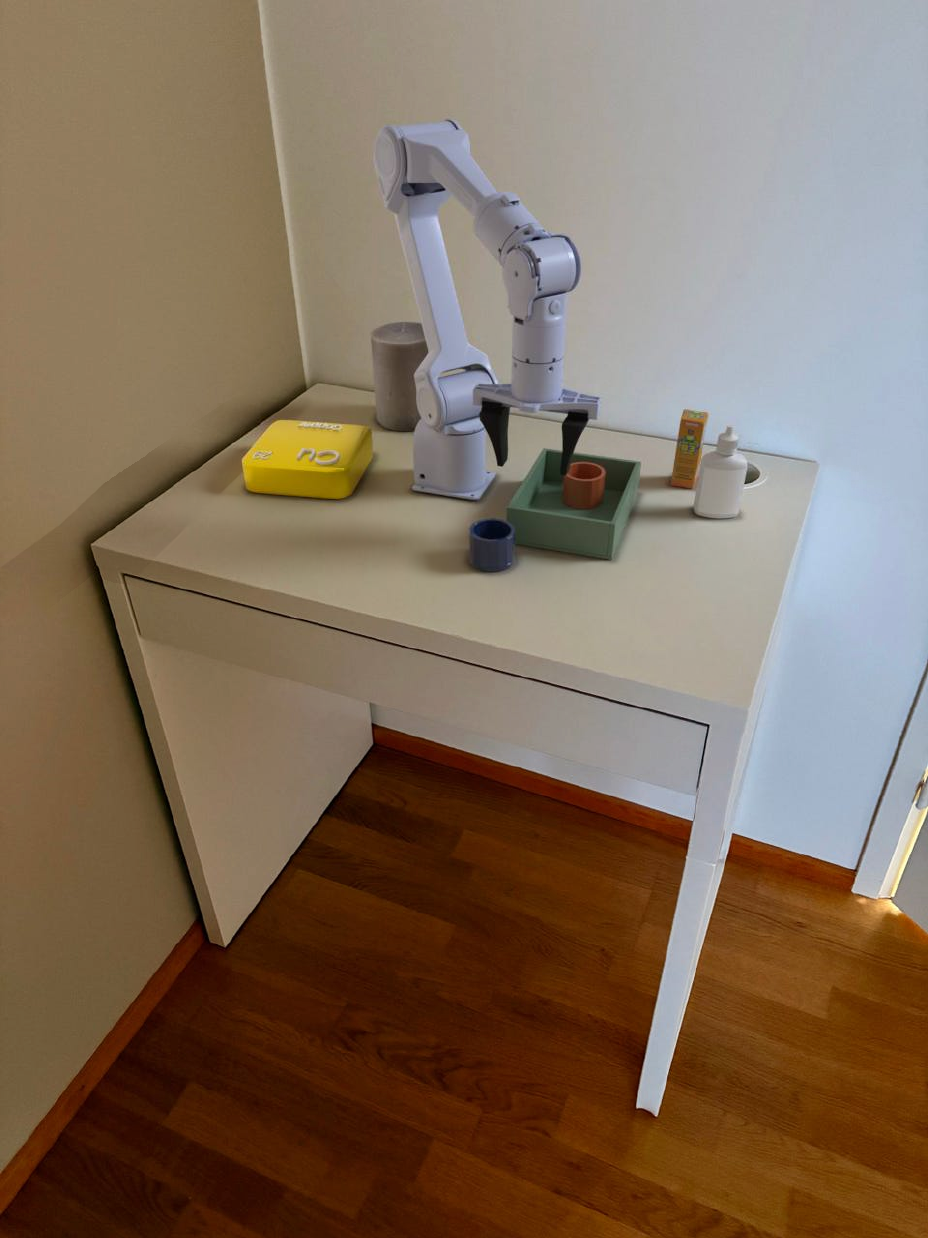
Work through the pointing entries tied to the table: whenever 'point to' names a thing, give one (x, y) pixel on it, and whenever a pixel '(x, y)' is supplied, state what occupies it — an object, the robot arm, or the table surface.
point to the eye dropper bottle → (721, 479)
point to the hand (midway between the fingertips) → (533, 467)
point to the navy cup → (492, 544)
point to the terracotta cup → (583, 486)
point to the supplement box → (689, 448)
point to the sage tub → (564, 527)
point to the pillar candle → (397, 373)
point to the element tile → (308, 459)
